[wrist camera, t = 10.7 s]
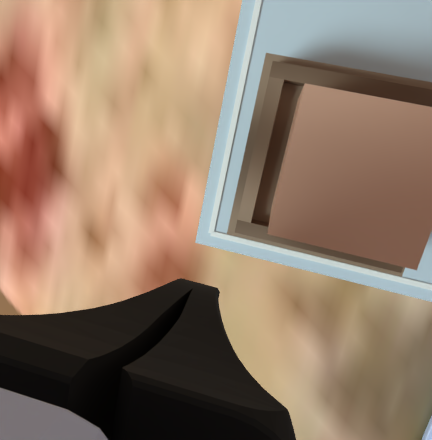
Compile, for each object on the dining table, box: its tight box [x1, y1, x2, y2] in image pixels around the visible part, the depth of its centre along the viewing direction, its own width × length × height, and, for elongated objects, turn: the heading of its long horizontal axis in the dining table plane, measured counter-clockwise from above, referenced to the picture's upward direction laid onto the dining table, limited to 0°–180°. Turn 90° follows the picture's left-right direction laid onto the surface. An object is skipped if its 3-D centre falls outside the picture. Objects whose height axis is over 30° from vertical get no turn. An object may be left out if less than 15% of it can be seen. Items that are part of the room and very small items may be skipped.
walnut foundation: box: [227, 53, 432, 277], centre depth 17 cm, size 8×8×4 cm
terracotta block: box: [267, 83, 432, 270], centre depth 13 cm, size 5×5×5 cm
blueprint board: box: [195, 0, 432, 302], centre depth 18 cm, size 17×14×1 cm
